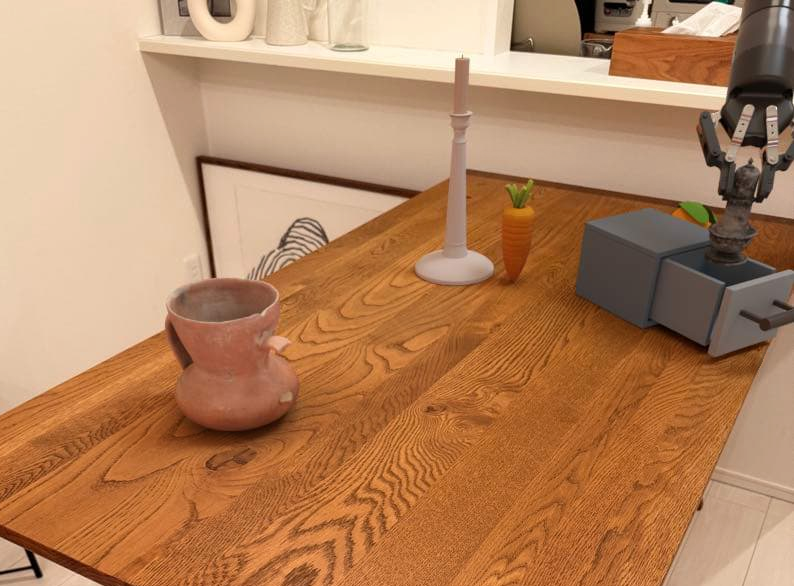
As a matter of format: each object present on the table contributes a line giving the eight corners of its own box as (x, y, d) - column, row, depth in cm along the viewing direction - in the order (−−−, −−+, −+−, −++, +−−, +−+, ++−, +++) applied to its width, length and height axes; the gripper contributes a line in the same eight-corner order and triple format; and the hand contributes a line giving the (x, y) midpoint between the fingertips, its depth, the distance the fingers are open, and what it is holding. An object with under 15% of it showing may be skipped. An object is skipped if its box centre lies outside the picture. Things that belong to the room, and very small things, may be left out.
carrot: (493, 285, 119) (500, 183, 110) (501, 273, 123) (509, 174, 113) (524, 289, 118) (534, 186, 108) (531, 277, 121) (542, 177, 112)
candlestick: (505, 263, 126) (522, 50, 107) (475, 290, 118) (488, 64, 98) (435, 251, 131) (439, 45, 112) (401, 277, 123) (400, 58, 103)
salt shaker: (691, 253, 100) (715, 153, 92) (730, 247, 101) (756, 149, 94) (719, 269, 96) (746, 166, 88) (759, 263, 97) (789, 161, 89)
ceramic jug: (334, 404, 92) (325, 290, 83) (253, 462, 83) (233, 340, 74) (225, 366, 100) (207, 258, 91) (140, 415, 91) (110, 300, 82)
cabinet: (706, 309, 111) (726, 235, 104) (641, 329, 107) (657, 252, 100) (636, 276, 121) (650, 207, 114) (574, 293, 117) (584, 221, 110)
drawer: (806, 351, 99) (830, 284, 93) (744, 372, 95) (765, 304, 89) (699, 301, 111) (715, 240, 106) (640, 318, 107) (653, 256, 101)
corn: (709, 189, 130) (744, 229, 115) (701, 235, 135) (733, 278, 119) (664, 192, 130) (692, 232, 115) (658, 238, 135) (684, 281, 120)
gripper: (710, 39, 91) (688, 177, 90) (838, 42, 88) (817, 185, 87) (697, 82, 98) (677, 210, 97) (815, 86, 95) (796, 218, 94)
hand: (743, 198), depth 92 cm, fingers closed on salt shaker, 3 cm apart
